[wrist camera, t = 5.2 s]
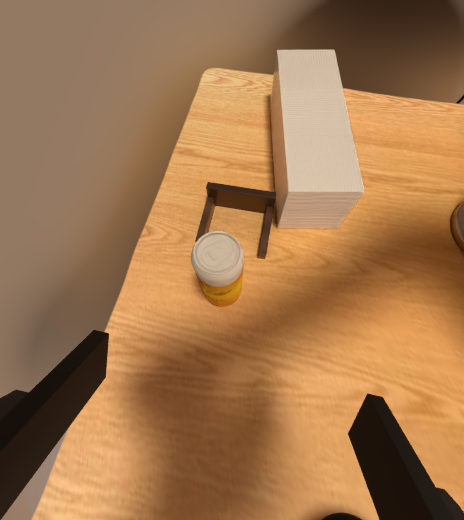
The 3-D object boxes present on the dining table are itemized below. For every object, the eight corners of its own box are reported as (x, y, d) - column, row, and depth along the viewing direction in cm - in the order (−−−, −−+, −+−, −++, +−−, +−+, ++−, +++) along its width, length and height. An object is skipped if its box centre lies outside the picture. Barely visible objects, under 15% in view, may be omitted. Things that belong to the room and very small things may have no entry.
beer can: (197, 285, 43) (179, 246, 29) (226, 264, 44) (223, 218, 31) (218, 315, 41) (209, 288, 27) (248, 292, 43) (255, 256, 29)
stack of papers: (337, 229, 47) (364, 191, 37) (277, 228, 47) (288, 191, 37) (317, 103, 59) (334, 49, 49) (269, 103, 59) (277, 49, 49)
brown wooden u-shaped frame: (264, 259, 45) (268, 246, 40) (197, 247, 46) (192, 233, 41) (272, 209, 48) (276, 192, 44) (210, 199, 49) (207, 181, 45)
